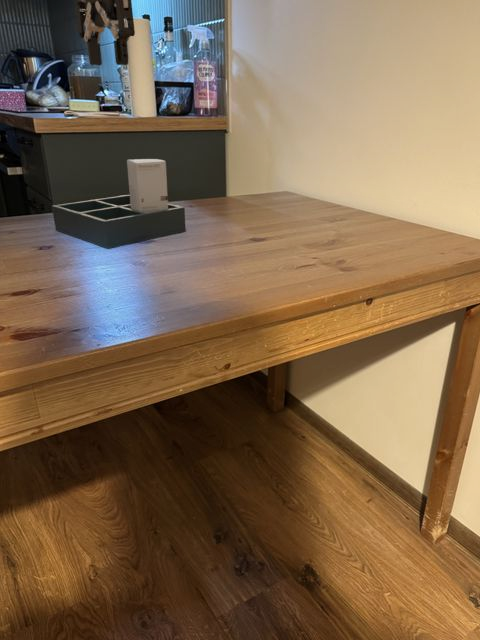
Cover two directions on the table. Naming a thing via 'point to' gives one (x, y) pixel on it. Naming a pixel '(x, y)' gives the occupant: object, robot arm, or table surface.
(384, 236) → the table surface
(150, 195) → the cosmetic box
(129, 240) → the grid
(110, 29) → the robot arm
